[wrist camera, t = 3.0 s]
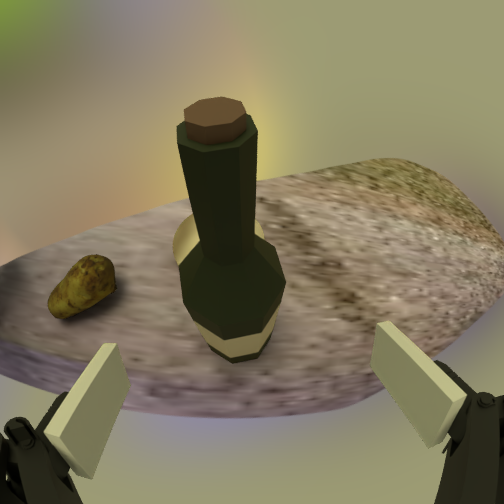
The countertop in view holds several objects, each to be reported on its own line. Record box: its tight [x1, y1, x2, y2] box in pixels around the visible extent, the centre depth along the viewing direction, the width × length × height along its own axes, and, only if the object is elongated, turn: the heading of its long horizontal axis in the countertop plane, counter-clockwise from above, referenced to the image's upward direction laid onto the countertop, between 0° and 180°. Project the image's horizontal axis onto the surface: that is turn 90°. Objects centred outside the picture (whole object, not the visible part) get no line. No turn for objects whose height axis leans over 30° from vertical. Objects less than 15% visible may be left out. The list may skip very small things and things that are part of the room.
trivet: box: [173, 214, 265, 266], centre depth 40 cm, size 13×13×3 cm
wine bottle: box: [177, 97, 286, 364], centre depth 22 cm, size 8×8×30 cm
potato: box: [48, 254, 117, 319], centre depth 34 cm, size 8×13×8 cm, turn 98°
